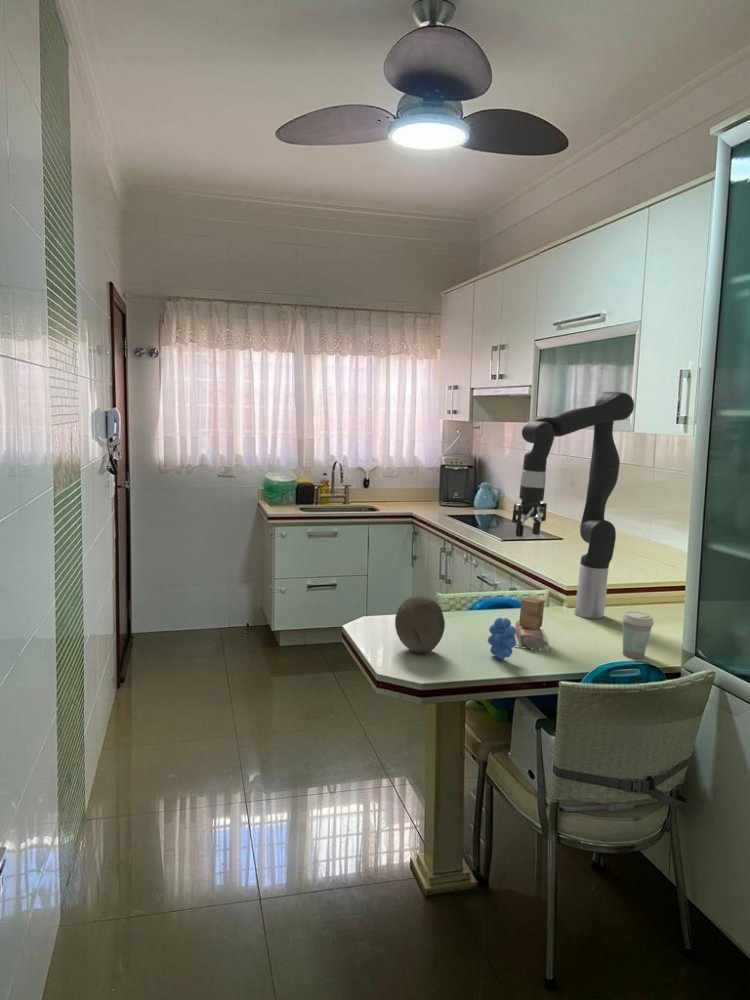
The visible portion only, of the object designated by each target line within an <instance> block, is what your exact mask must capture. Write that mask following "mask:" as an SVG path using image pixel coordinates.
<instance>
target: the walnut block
mask: <svg viewBox="0 0 750 1000" xmlns="http://www.w3.org/2000/svg"><path fill="white" fill-rule="evenodd" d="M520 602H521V603H520V609H519V610H520V612H519V620H518V621H519V626H522V627H526V628H530V629H534V630H535V629H537V628H539V627H540V628H541V627H543V620H544V610H545V609H544V607H545V600H544V599H541V598H537V597H532V596H527V597H524V598H521V600H520Z"/></svg>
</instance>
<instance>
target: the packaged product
mask: <svg viewBox="0 0 750 1000" xmlns="http://www.w3.org/2000/svg"><path fill="white" fill-rule="evenodd" d="M519 621H520V620H517V621H516V622H515V623H514V624H515V626H513V627H514V628H515V630H516V632H515V634H514V635H515V640H516V645H515V646H519V647H525V648H533V649H541V650H540V651H542V650H549V651H550V646H549V642H548V639H547V637H546V634H545V630H544V628H541V627H539V628H537V629H535V630H534V629H530V628H526V627H522V626H519ZM515 646H514V647H515ZM533 649H532V650H533Z"/></svg>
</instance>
